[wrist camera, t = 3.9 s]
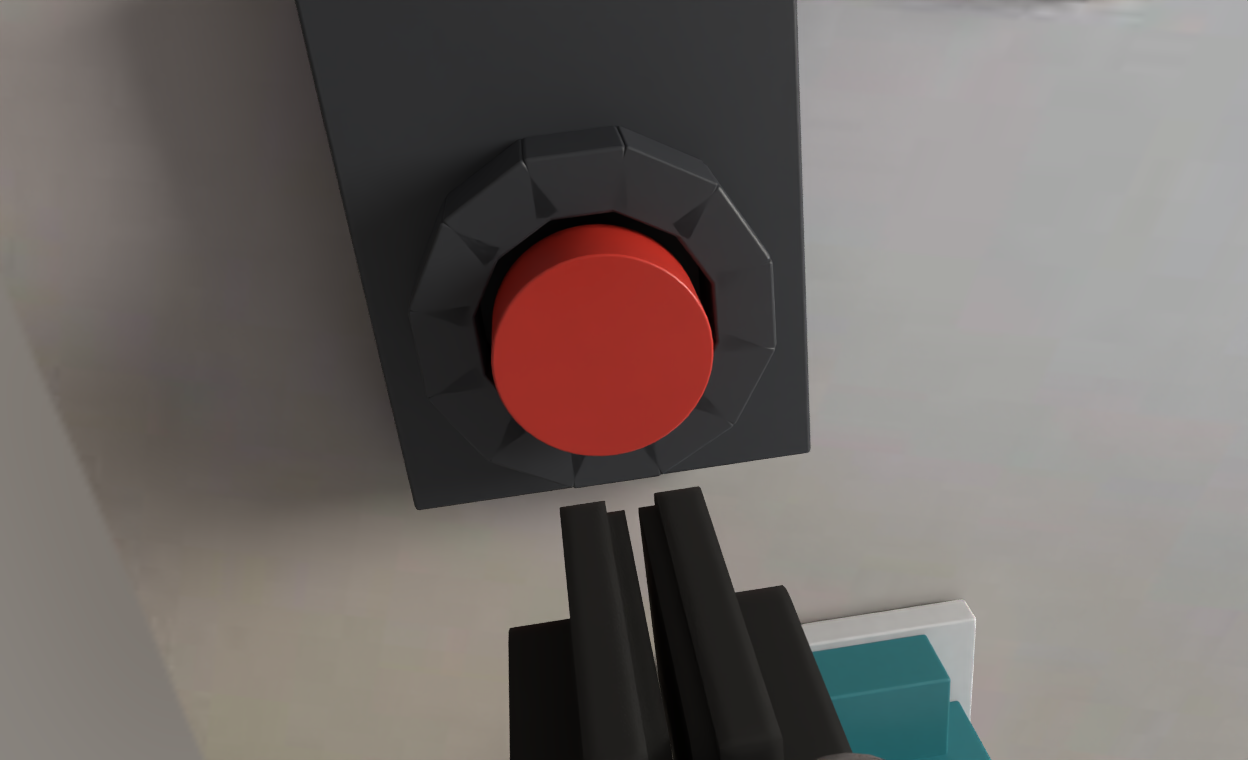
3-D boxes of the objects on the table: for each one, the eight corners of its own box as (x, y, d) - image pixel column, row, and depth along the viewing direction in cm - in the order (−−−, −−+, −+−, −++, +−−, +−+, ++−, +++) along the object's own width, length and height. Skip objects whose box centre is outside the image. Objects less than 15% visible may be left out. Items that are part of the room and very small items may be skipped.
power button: (475, 238, 19) (472, 271, 17) (689, 209, 19) (705, 239, 18) (509, 426, 21) (509, 471, 19) (705, 398, 21) (721, 441, 19)
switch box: (300, -77, 20) (254, -67, 16) (764, -134, 20) (821, -136, 17) (422, 459, 25) (409, 557, 22) (787, 407, 25) (833, 494, 22)
